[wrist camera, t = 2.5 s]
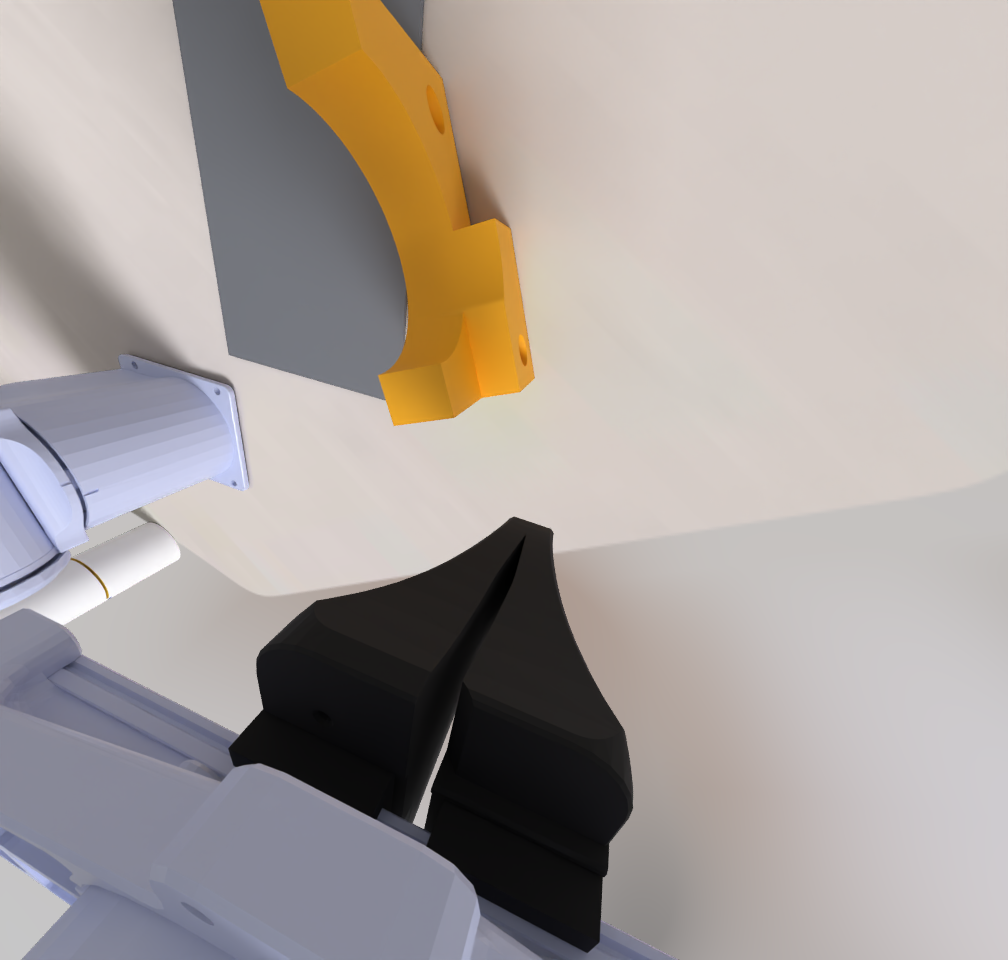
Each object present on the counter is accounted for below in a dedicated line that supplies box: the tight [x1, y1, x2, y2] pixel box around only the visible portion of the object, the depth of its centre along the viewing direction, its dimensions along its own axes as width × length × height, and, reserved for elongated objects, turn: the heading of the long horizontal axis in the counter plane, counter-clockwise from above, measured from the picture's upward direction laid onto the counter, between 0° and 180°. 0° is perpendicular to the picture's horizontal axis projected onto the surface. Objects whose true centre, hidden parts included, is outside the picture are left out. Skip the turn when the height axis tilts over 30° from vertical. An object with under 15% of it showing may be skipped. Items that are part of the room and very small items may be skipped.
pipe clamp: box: [259, 0, 534, 426], centre depth 14 cm, size 12×4×6 cm, turn 11°
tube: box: [0, 522, 180, 625], centre depth 29 cm, size 4×4×15 cm
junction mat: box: [173, 0, 424, 400], centre depth 19 cm, size 12×16×1 cm
